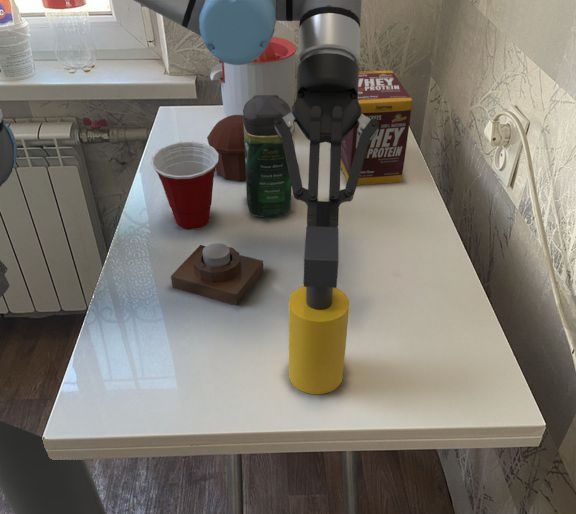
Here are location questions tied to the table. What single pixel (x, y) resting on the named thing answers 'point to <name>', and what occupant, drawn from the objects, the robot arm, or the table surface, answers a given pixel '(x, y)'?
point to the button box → (218, 277)
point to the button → (216, 255)
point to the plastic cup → (187, 180)
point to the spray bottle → (318, 317)
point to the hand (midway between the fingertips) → (321, 257)
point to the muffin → (229, 147)
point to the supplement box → (380, 129)
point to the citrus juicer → (258, 77)
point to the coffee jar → (266, 158)
